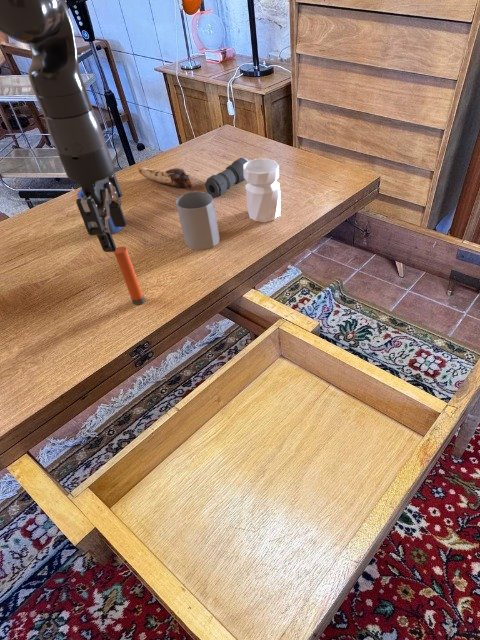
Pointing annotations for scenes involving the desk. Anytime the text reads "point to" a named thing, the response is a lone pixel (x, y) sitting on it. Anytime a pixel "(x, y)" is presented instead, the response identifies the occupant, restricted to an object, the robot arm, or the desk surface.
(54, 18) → the robot arm
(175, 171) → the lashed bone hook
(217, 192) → the flashlight
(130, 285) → the handle
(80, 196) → the blue cup
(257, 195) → the vase
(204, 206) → the cup
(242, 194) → the desk surface
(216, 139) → the desk surface
